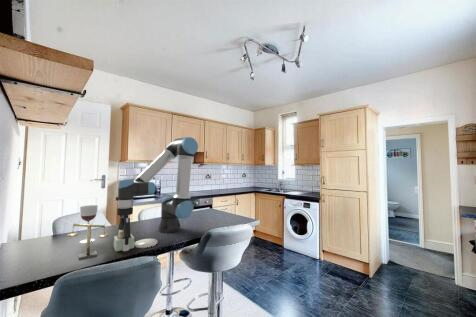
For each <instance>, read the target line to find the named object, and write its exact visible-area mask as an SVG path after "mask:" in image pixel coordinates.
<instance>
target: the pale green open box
mask: <svg viewBox="0 0 476 317" xmlns="http://www.w3.org/2000/svg"><path fill="white" fill-rule="evenodd" d="M130 235H131V237H130V238H129V250H131V249H134V248H135V246H134V243H135V236H133V234H132V233H130ZM113 248H114V250H115V252H120V251H123V239H120V240H118V235H114V236H113Z"/></svg>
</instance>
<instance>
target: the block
mask: <svg viewBox="0 0 476 317" xmlns="http://www.w3.org/2000/svg"><path fill="white" fill-rule="evenodd" d="M117 234H118V235H117V236H118V240H120V239H123V237H124V231H123V230H119V229H118V233H117ZM126 236H127V235H126Z"/></svg>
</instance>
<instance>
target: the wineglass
mask: <svg viewBox="0 0 476 317" xmlns="http://www.w3.org/2000/svg"><path fill="white" fill-rule="evenodd" d="M98 207H99V206H98V205H97V204H96V205H95V204H91V205H82V206H80V208H79V211H80V217H81V219H82V220H83V221H85V222H87V225H90V222H91V221H92V220H94V219H95V218H96V216H97V213H98V209H99V208H98ZM86 231H88V227H86ZM91 241H92V242H95V241H96V239H95V238H91ZM91 241H90V243H92V242H91ZM79 243H80V244H87V238H86V239H82V240H80V241H79Z"/></svg>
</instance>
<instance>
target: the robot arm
mask: <svg viewBox="0 0 476 317" xmlns="http://www.w3.org/2000/svg"><path fill="white" fill-rule="evenodd" d="M198 150H199V145H198V142H197V140H196V139H195V138H194V137H191V136H184V137H181V138H175V139H174V140H172V141H171V142H170V143H169V144H168V145H166V147H165V148H163V151H162V153H160V154H159V155H158V156H157V157H156V158H155V159H154V160H153V161H152V162H151V163H150V165H147V167H146V168H145V169H144V170H143V171H141V173H140V174H139V175H137V176H136V177H135V179H133V178H120V180H119V181H118V187H117V201H116V204H117V210H116V212H117V213H116V214H117V216H119V223H118V230H123V231H124V237H123V250H122V252H128V251H130V249H129V238H130V237H131V235H130V234H131V218H130V217H129V216H131V215H132V214H133V212H134V208H133V206H134V196H135V197H136V196H150V195H154V194H155V193H156V184H155V182H154V181H152V180H153V179H154V178H155V177H156V175H158V173H159V172H161V171H162V169H164V167H166V166H167V164H169V162H171V161H172V160H174V159H176V158H178V165H177V176H176V185H175V194H174V195H173V196H166V197H162V199H161V212H160V214H161V215H160V221H159V224H158V227H157V231H158V232H159V233H164V234H165V233H166V234H167V233H174V232H175V233H177V232H178V231H181V226H182V224H181V223H180V220H179V219H186V218H189V217H190V216H191V215H192V213H193V212H194V204H193V203H192V201H191V199H192V198H191V196H190V194H189V193H190V184H191V183H190V182H191V171H192V161H193V159H194V158H195V154H196V153H197V152H198ZM126 235H127V236H126Z"/></svg>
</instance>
